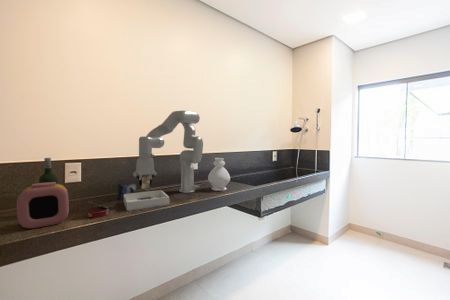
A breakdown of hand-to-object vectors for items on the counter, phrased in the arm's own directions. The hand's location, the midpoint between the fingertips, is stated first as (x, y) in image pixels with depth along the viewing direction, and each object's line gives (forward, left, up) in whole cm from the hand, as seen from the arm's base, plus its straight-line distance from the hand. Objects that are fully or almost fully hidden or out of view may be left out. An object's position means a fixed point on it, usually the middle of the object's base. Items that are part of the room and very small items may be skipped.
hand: (145, 185), depth 139 cm
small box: (+9, -19, -12) cm, 24 cm away
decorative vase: (-59, -14, -12) cm, 62 cm away
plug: (0, 0, -1) cm, 1 cm away
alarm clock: (+48, +11, -12) cm, 50 cm away
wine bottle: (+49, -6, -12) cm, 50 cm away
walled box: (0, 0, -11) cm, 11 cm away
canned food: (+26, +9, -12) cm, 30 cm away
